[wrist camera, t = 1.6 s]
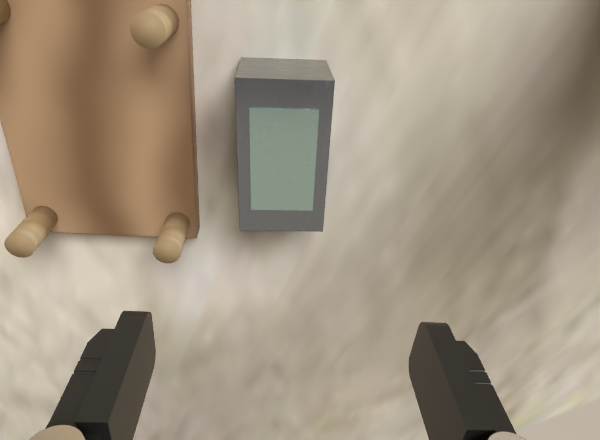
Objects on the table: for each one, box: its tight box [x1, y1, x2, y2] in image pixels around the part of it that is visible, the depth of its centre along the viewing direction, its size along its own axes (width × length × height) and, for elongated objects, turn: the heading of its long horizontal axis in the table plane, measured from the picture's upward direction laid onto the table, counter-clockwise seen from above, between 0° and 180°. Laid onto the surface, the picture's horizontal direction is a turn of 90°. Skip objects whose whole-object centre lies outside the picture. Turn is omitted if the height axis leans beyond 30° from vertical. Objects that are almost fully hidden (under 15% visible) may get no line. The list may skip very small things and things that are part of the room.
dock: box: [0, 0, 200, 263], centre depth 26 cm, size 11×15×5 cm
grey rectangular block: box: [235, 57, 335, 232], centre depth 27 cm, size 5×9×5 cm, turn 178°
